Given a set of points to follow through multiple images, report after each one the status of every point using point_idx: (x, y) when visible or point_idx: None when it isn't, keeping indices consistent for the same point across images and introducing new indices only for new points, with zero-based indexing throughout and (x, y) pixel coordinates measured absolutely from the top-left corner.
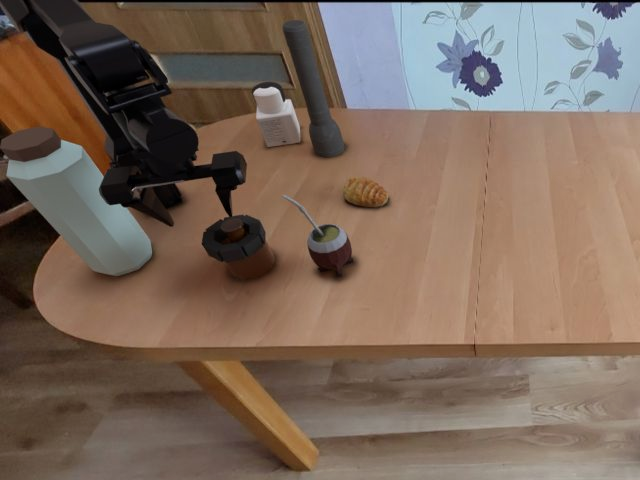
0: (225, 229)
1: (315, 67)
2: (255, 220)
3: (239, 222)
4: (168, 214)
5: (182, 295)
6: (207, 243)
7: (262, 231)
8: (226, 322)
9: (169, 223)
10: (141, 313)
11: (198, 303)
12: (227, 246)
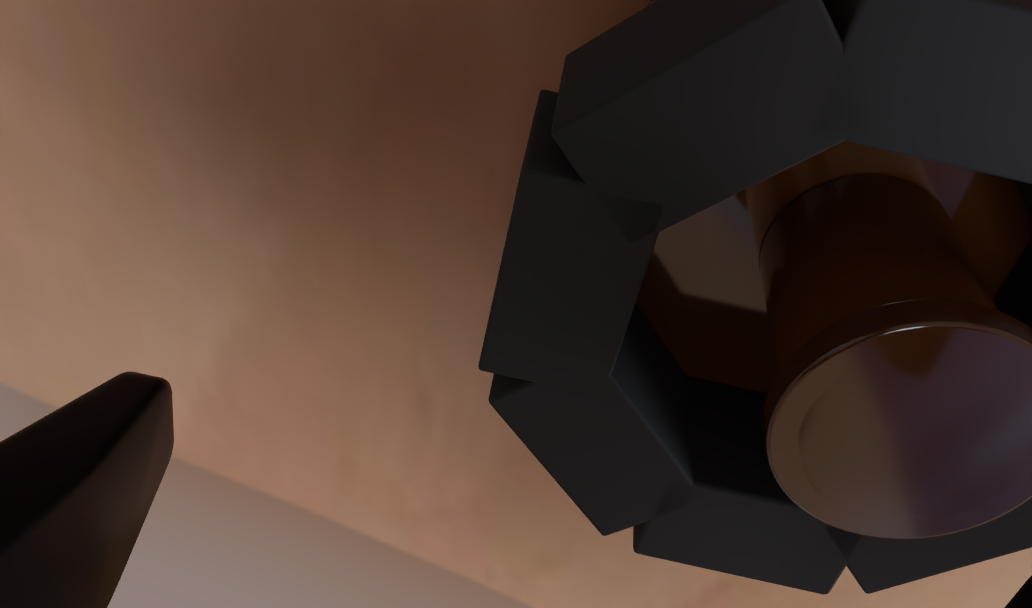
0: (810, 484)
1: None
2: None
3: (1030, 446)
4: (72, 522)
5: (247, 178)
6: (542, 399)
7: None
8: (509, 499)
9: (124, 552)
10: (2, 207)
11: (359, 300)
12: (726, 527)
